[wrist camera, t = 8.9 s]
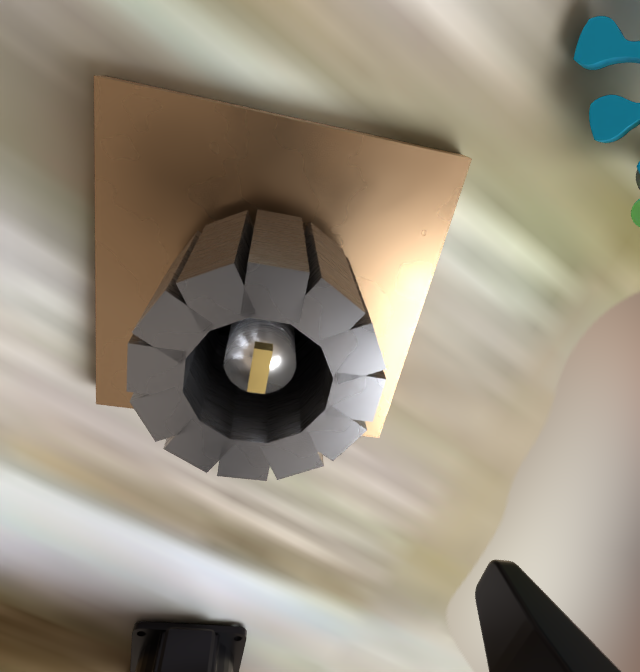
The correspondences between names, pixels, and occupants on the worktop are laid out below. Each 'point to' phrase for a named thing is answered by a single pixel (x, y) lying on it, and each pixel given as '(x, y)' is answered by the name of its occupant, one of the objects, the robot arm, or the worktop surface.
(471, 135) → the worktop surface
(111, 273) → the shaft stand
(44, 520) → the worktop surface
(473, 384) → the worktop surface
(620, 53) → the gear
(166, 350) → the hub
